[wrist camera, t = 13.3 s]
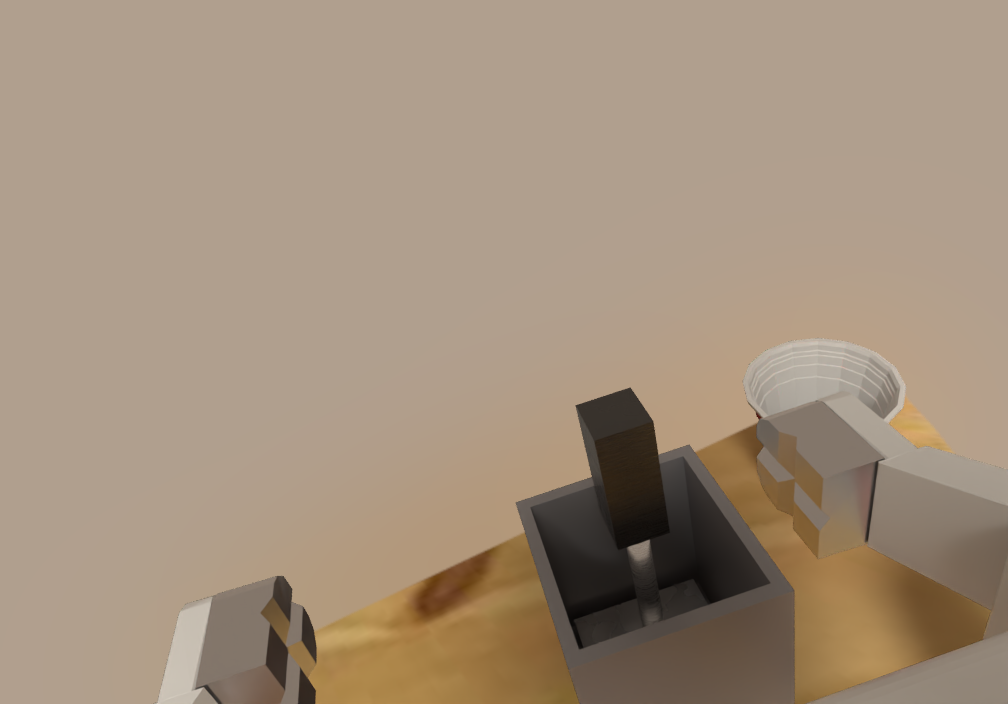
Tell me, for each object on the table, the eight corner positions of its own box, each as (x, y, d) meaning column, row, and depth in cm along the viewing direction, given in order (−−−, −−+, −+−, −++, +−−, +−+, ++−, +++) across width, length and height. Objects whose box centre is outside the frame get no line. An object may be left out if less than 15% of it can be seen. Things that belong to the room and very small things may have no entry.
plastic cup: (779, 559, 50) (776, 443, 44) (730, 464, 60) (722, 356, 53) (923, 530, 50) (942, 407, 43) (851, 437, 59) (858, 325, 52)
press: (610, 798, 40) (568, 669, 33) (557, 630, 50) (515, 502, 43) (794, 732, 41) (794, 590, 33) (704, 579, 51) (689, 444, 43)
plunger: (620, 753, 40) (549, 506, 29) (576, 626, 48) (506, 391, 36) (760, 703, 41) (746, 440, 29) (694, 585, 49) (662, 340, 37)
